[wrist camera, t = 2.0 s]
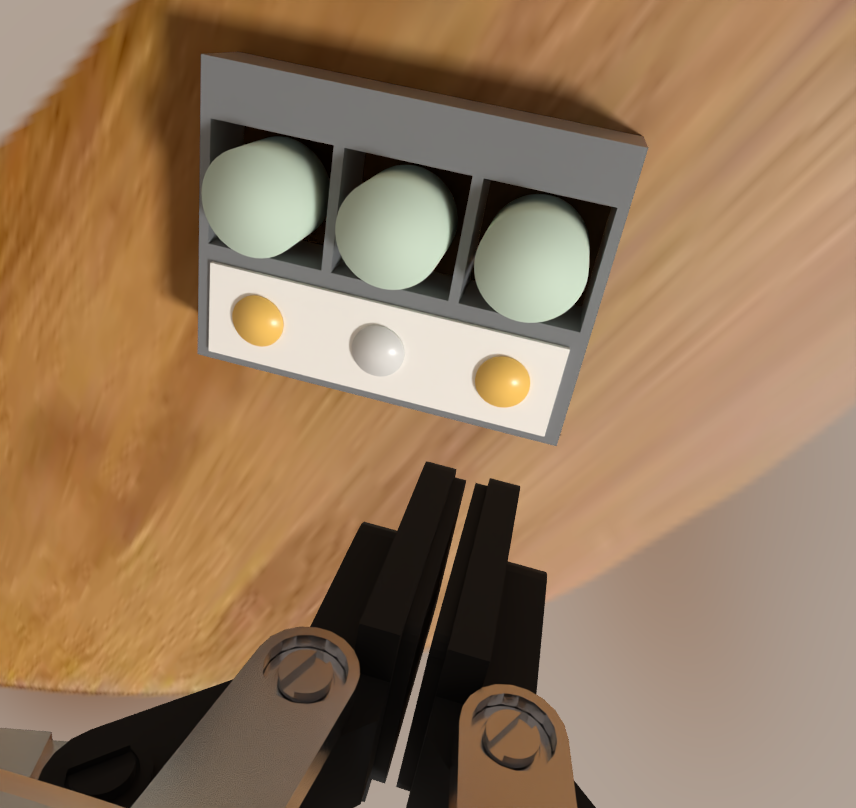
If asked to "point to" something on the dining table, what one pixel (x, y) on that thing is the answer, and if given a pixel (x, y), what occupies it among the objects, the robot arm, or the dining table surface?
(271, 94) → the button board
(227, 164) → the end button
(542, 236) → the end button
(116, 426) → the dining table surface
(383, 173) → the middle button
